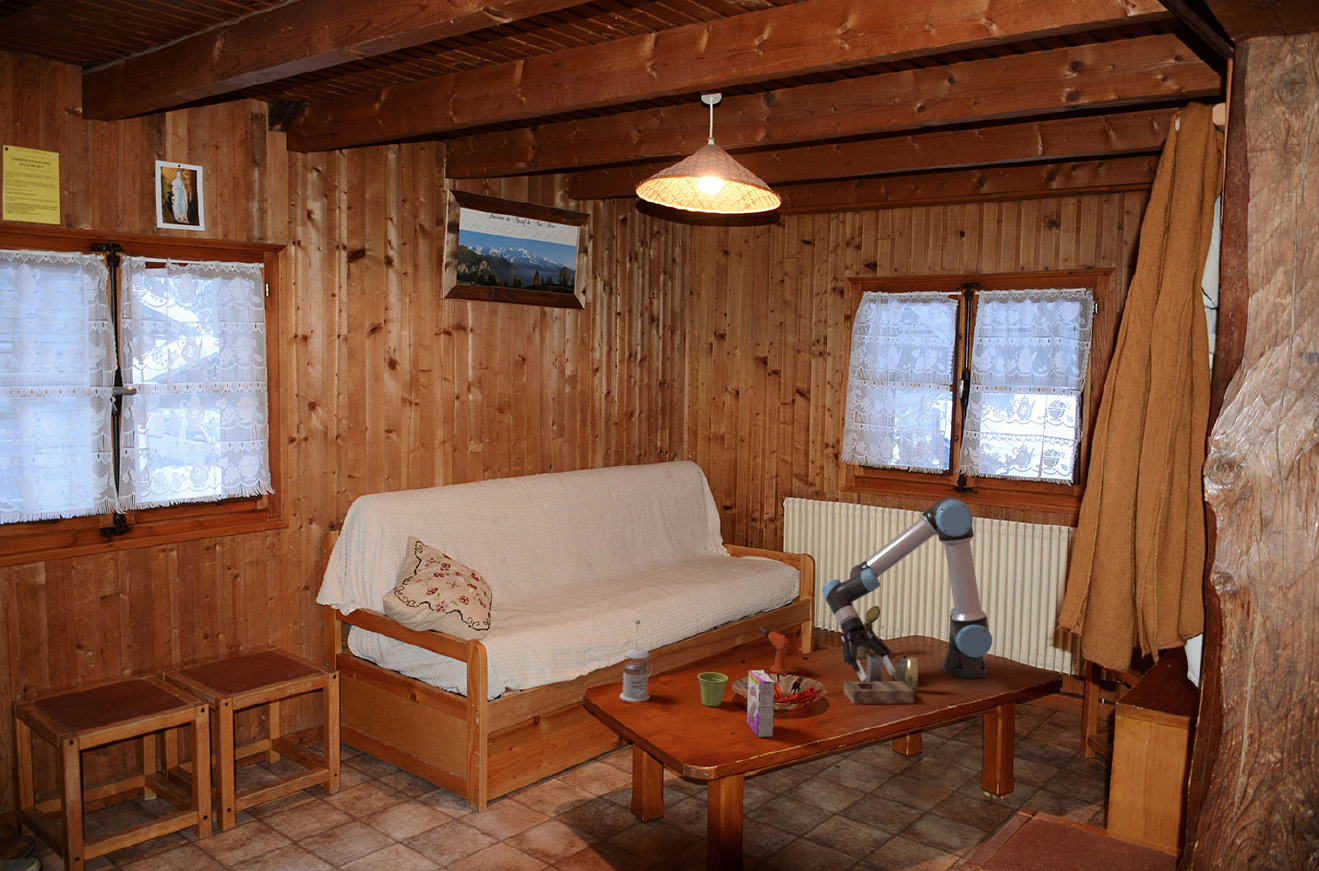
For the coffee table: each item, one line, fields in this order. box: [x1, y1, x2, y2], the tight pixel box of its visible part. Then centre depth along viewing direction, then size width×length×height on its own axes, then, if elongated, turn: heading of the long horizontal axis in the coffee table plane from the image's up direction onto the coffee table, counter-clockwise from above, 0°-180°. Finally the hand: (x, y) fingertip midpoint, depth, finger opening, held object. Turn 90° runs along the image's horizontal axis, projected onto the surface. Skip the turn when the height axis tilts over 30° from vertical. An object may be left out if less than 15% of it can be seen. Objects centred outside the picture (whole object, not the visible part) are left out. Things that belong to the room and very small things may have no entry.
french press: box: [619, 619, 653, 703], centre depth 308 cm, size 10×12×25 cm
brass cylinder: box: [905, 656, 920, 694], centre depth 323 cm, size 4×4×11 cm
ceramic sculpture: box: [892, 655, 920, 683], centre depth 336 cm, size 11×9×15 cm
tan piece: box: [849, 605, 881, 659], centre depth 364 cm, size 9×14×18 cm, turn 125°
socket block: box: [843, 680, 915, 705], centre depth 315 cm, size 20×10×4 cm, turn 97°
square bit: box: [865, 654, 884, 681], centre depth 325 cm, size 4×4×11 cm
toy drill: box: [758, 626, 791, 673], centre depth 342 cm, size 5×18×14 cm, turn 28°
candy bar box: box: [746, 669, 776, 738], centre depth 282 cm, size 11×5×16 cm, turn 12°
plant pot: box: [697, 671, 729, 707], centre depth 304 cm, size 9×9×9 cm
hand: (879, 676), depth 323 cm, fingers open, 12 cm apart
